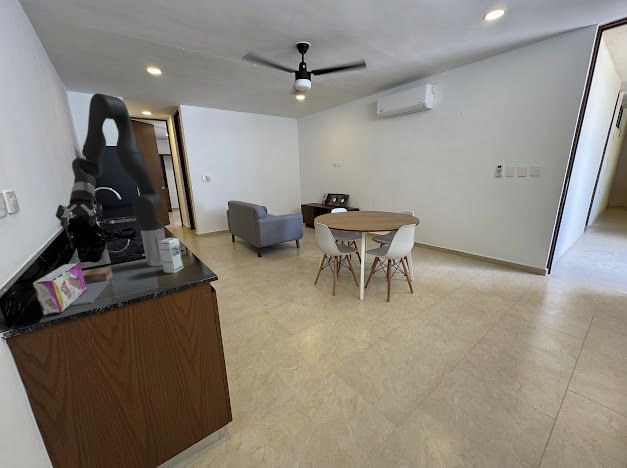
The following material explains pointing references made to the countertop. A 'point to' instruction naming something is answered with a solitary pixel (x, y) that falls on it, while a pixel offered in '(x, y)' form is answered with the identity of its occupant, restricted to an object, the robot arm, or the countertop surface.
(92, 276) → the walnut step
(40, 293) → the candy bar box
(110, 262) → the countertop surface
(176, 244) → the syrup box
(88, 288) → the mat
